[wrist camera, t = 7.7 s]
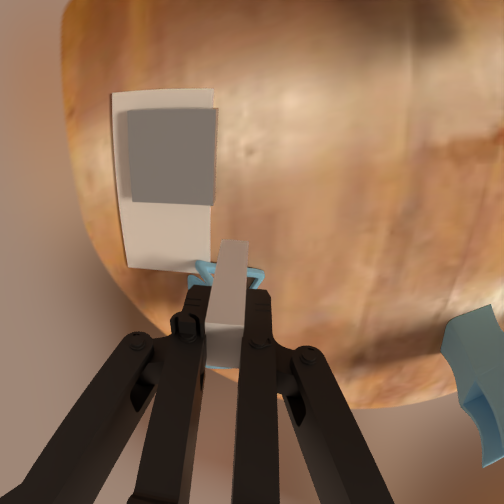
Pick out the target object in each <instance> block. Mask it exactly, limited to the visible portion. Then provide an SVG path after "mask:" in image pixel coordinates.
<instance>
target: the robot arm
mask: <svg viewBox="0 0 504 504" xmlns="http://www.w3.org/2000/svg"><path fill="white" fill-rule="evenodd" d="M248 246H249V241H241V240H228V239H222V240H221V245H220V250H219V254H218V259H217V264H216V269H215V274H214V279H213V284H212V286H205V285H193V286H192V287H191V288H190V289H189V290H188V292H187V296H186V299H185V302H184V306H183V309H182V311H181V312H178V313H176V314H174V315H173V316H172V318H171V319H170V325H171V332H172V334H171V335H169V336H166V337H162V338H155V339H152V338H151V337H150V335H148V334H146V333H145V332H132V333H130V334H128V335H126V336H125V337H124V338H123V340H122V341H121V342H120V343H119V345H118V346H117V347H116V349H115V350H114V351H113V353H112V354H111V355H110V357H109V358H108V359H107V361H106V362H105V363H104V365H103V366H102V367H101V369H100V370H99V371H98V373H97V374H96V375H95V377H94V378H93V380H92V381H91V382H90V384H89V385H88V387H87V388H86V389H85V391H84V392H83V393H82V395H81V396H80V398H79V399H78V400H77V402H76V403H75V405H74V406H73V407H72V409H71V410H70V412H69V413H68V415H67V416H66V417H65V419H64V420H63V422H62V423H61V425H60V426H59V427H58V429H57V430H56V432H55V433H54V435H53V436H52V438H51V439H50V441H49V442H48V444H47V445H46V447H45V448H44V450H43V451H42V453H41V454H40V456H39V457H38V459H37V460H36V462H35V463H34V465H33V466H32V468H31V470H30V471H29V473H28V474H27V476H26V477H25V479H24V481H23V482H22V483H21V484H20V485H18V486H17V487H16V488H14V489H13V490H11V491H10V492H8V493H7V494H5V495H4V496H2V497H1V498H0V504H93V503H94V501H95V499H96V497H97V495H98V494H99V492H100V490H101V488H102V486H103V485H104V483H105V481H106V479H107V477H108V476H109V474H110V472H111V470H112V468H113V467H114V465H115V463H116V461H117V460H118V458H119V456H120V454H121V452H122V451H123V449H124V447H125V445H126V443H127V442H128V440H129V438H130V437H131V435H132V433H133V431H134V430H135V428H136V426H137V424H138V423H139V421H140V419H141V417H142V416H143V414H144V412H145V410H146V408H147V407H148V405H149V403H150V402H151V400H152V398H153V396H154V394H155V393H156V396H155V400H154V404H153V408H152V412H151V417H150V420H149V425H148V430H147V433H146V438H145V442H144V447H143V451H142V456H141V461H140V465H139V471H138V475H137V480H136V486H135V489H134V492H133V494H132V495H131V496H130V497H129V499H128V501H127V504H189V497H190V489H191V479H192V471H193V463H194V455H195V447H196V440H197V431H198V424H199V417H200V410H201V402H202V395H203V388H204V381H205V366H216V367H227V368H239V379H238V395H237V411H236V429H235V444H234V461H233V479H232V496H231V497H232V498H231V504H280V498H279V497H280V493H279V449H278V415H277V393H279V394H282V397H283V399H284V402H285V405H286V408H287V411H288V414H289V417H290V419H291V422H292V425H293V428H294V431H295V434H296V436H297V439H298V442H299V445H300V448H301V451H302V453H303V456H304V459H305V462H306V464H307V467H308V470H309V473H310V476H311V478H312V481H313V484H314V487H315V489H316V492H317V495H318V497H319V500H320V503H321V504H394V501H393V499H392V497H391V495H390V493H389V491H388V489H387V486H386V484H385V482H384V480H383V478H382V475H381V473H380V471H379V469H378V467H377V465H376V463H375V460H374V458H373V456H372V454H371V452H370V450H369V448H368V446H367V443H366V441H365V439H364V437H363V435H362V433H361V431H360V429H359V427H358V425H357V422H356V420H355V419H354V416H353V414H352V412H351V410H350V408H349V406H348V404H347V402H346V400H345V398H344V396H343V393H342V391H341V389H340V387H339V385H338V383H337V381H336V379H335V377H334V375H333V373H332V371H331V369H330V367H329V365H328V363H327V361H326V359H325V357H324V355H323V353H322V352H321V351H320V350H318V349H317V348H315V347H312V346H301V347H298V348H297V349H295V350H291V349H288V348H285V347H283V346H281V345H280V344H278V343H277V342H276V341H275V339H274V338H273V334H272V313H271V296H270V295H269V293H268V292H267V290H262V289H249V288H246V282H247V264H248ZM156 391H157V392H156Z"/></svg>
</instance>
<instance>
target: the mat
mask: <svg viewBox="0 0 504 504" xmlns="http://www.w3.org/2000/svg"><path fill="white" fill-rule="evenodd" d="M213 103H214V88H179V89H154V90H139V91H127V92H116V93H112V118H113V141H114V157H115V170H116V181H117V191H118V200H119V209H120V217H121V224H122V231H123V238H124V245H125V251H126V257H127V263H128V267H131V268H142V269H153V270H164V271H175V272H187V273H198V271H197V270H196V268H195V262H196V261H197V260H201V261H206V262H210V213H211V206H207V205H189V204H168V203H144V202H132V193H131V181H130V167H129V150H128V122H127V111H129V110H132V109H145V108H180V107H197V108H213Z"/></svg>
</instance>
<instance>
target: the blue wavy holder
mask: <svg viewBox="0 0 504 504" xmlns="http://www.w3.org/2000/svg"><path fill="white" fill-rule="evenodd" d="M440 352H441V353H442V355H443V356H444V357H445V359H446V360H447V361H448V363H449V365H450V366H451V368H452V371H453V373H454V376H455V380H456V385H457V391H458V398H459V403H460V406H461V408H462V409H463V410H464V411H465V412H466V413H467V414H468V415H469V416H470V417H471V418H472V420H473V421H474V423H475V424H476V426H477V428H478V430H479V434H480V437H481V444H482V468H484V467H486V466H487V465H489V464H492V463H493V462H495V461H497V460H499V459H501V458H503V457H504V332H503V331H502V330H501V328H500V326H499V324H498V322H497V320H496V318H495V315H494V312H493V309H492V306H491V304H490V305H487V306H485V307H482V308H479V309H477V310H474V311H471V312H469V313H466V314H463V315H460V316H458V317H455V318H453V319H452V320H450V321H449V322H448V324H447V325H446V329H445V333H444V337H443V341H442V346H441V350H440Z"/></svg>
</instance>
